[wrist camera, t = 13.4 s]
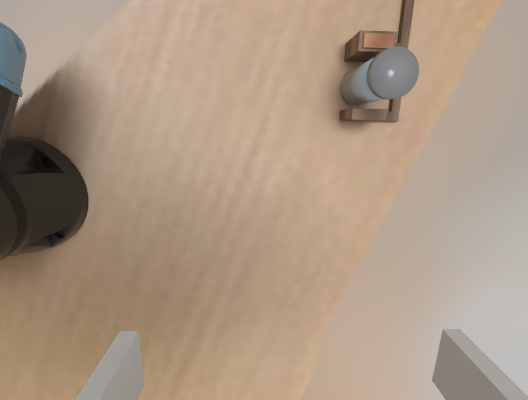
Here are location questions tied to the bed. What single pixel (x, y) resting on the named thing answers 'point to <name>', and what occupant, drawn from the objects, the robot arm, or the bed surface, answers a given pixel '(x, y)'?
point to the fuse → (381, 77)
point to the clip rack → (369, 47)
